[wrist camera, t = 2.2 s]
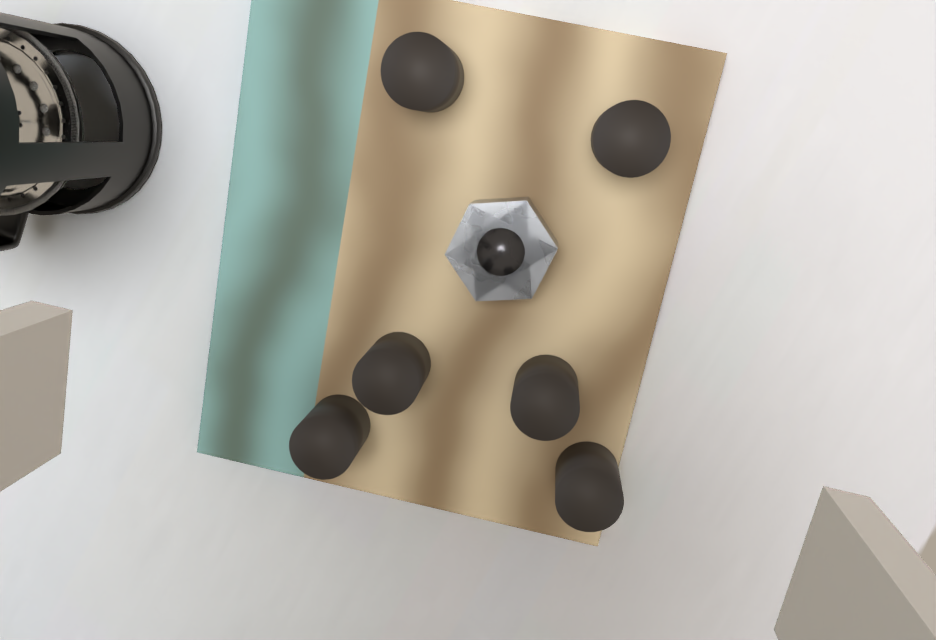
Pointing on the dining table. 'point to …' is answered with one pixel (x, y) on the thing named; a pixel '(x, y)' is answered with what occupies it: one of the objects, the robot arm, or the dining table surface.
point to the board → (424, 246)
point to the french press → (66, 125)
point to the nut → (502, 249)
